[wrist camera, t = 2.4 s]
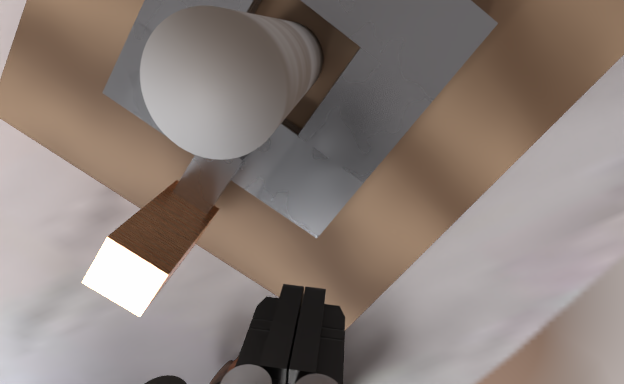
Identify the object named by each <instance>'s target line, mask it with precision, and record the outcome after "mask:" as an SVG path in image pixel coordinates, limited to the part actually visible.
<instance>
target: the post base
mask: <svg viewBox="0 0 624 384" xmlns="http://www.w3.org/2000/svg"><path fill="white" fill-rule="evenodd" d="M471 1H473V2H474V3H475V4H476V5H477V6H478V7H480V8H481V9H482V10H483V11H484V12H486V13H487V14H488V15H489V16H490V17H491V18H493V19H494V20H495V21H496V22H497V23H498V24H497V25H496V26H495V28H494V29H493V30H492V31H491V32H490V34H489V35H488V36H487V37H486V38H485V40H484V41H483V42H482V43H481V44H480V45H479V47H478V48H477V49H476V50H475V51H474V53H473V54H472V55H471V56H470V57H469V59H468V60H467V61H466V62H465V63H464V64H463V66H462V67H461V68H460V69H459V70H458V72H457V73H456V74H455V75H454V76H453V78H452V79H451V80H450V81H449V82H448V83H447V85H446V86H445V87H444V88H443V89H442V91H441V92H440V93H439V94H438V95H437V97H436V98H435V99H434V100H433V101H432V102H431V104H430V105H429V106H428V107H427V108H426V110H425V111H424V112H423V113H422V114H421V115H420V117H419V118H418V119H417V120H416V121H415V123H414V124H413V125H412V126H411V127H410V129H409V130H408V131H407V132H406V133H405V134H404V136H403V137H402V138H401V139H400V140H399V142H398V143H397V144H396V145H395V146H394V148H393V149H392V150H391V151H390V152H389V153H388V155H387V156H386V157H385V158H384V159H383V161H382V162H381V163H380V164H379V165H378V167H377V168H376V169H375V170H374V171H373V172H372V174H371V175H370V176H369V177H368V178H367V180H366V181H365V182H364V183H363V184H362V185H361V187H360V188H359V189H358V190H357V191H356V193H355V194H354V195H353V196H352V197H351V199H350V200H349V201H348V202H347V203H346V204H345V206H344V207H343V208H342V209H341V210H340V212H339V213H338V214H337V215H336V216H335V218H334V219H333V220H332V221H331V222H330V223H329V225H328V226H327V227H326V228H325V229H324V231H323V232H322V233H321V234H320V235H319V237H318V238H315V237H314V236H312V235H311V234H309V233H308V232H306V231H305V230H304V229H302V228H301V227H299V226H298V225H296V224H295V223H293V222H292V221H290V220H289V219H287V218H286V217H284V216H283V215H281V214H280V213H278V212H277V211H276V210H274V209H273V208H271V207H270V206H268V205H267V204H265V203H264V202H262V201H261V200H259V199H258V198H256V197H255V196H253V195H252V194H250V193H249V192H248V191H246V190H245V189H243V188H242V187H240V186H239V185H237V184H236V183H234V182H233V181H230V183H229V184H228V186H227V187H226V189H225V190H224V192H223V193H222V195H221V196H220V198H219V199H218V200H217V202H216V203H215V206H216V207H218V208H219V210H218V212H217V213H216V215H215V216H214V218H213V219H212V221H211V222H210V224H209V225H208V227H207V228H206V230H205V231H204V232H203V234H202V235H201V237H200V238H199V240H198V241H197V243H196V244H197V245H198V246H200V247H202V248H203V249H205V250H206V251H208V252H209V253H211V254H212V255H214V256H216V257H217V258H219V259H220V260H222V261H223V262H225V263H226V264H228V265H230V266H231V267H233V268H234V269H236V270H237V271H239V272H241V273H242V274H244V275H245V276H247V277H248V278H250V279H251V280H253V281H255V282H256V283H258V284H259V285H261V286H262V287H264V288H265V289H267V290H269V291H270V292H272V293H273V294H275V295H276V296H278V297H280V293H281V290H282V286H283V284H289V285H297V286H304V291H305V287H315V288H323V289H326V294H325V304H329V305H337V306H340V308H341V310H342V312H343V314H344V316H345V330H346V329H347V328H348V327H349V326H350V325H351V324H352V323H353V322H354V321H355V320H356V319H357V318H358V317H359V316H360V315H361V314H362V313H363V312H364V311H365V310H366V309H367V308H368V307H369V306H370V305H371V304H372V303H373V302H374V301H375V300H376V299H377V298H378V297H379V296H380V295H381V294H382V293H383V292H385V291H386V290H387V289H388V288H389V287H390V286H391V285H392V284H393V283H394V282H395V281H396V280H397V279H398V278H399V277H400V276H401V275H402V274H403V273H404V272H405V271H406V270H407V269H408V268H409V267H410V266H411V265H412V264H413V263H414V262H415V261H416V260H417V259H418V258H419V257H420V256H421V255H422V254H423V253H424V252H425V251H426V250H427V249H428V248H429V247H430V246H431V245H432V244H433V243H434V242H435V241H436V240H437V239H438V238H439V237H440V236H441V235H442V234H443V233H444V232H445V231H446V230H447V229H448V228H449V227H450V226H451V225H452V224H453V223H454V222H455V221H456V220H457V219H458V218H459V217H460V216H461V215H462V214H463V213H464V212H465V211H466V210H467V209H468V208H469V207H470V206H471V205H472V204H473V203H474V202H475V201H476V200H477V199H478V198H479V197H480V196H481V195H482V194H483V193H484V192H485V191H486V190H487V189H488V188H490V187H491V186H492V185H493V184H494V183H495V182H496V181H497V180H498V179H499V178H500V177H501V176H502V175H503V174H504V173H505V172H506V171H507V170H508V169H509V168H510V167H511V166H512V165H513V164H514V163H515V162H516V161H517V160H518V159H519V158H520V157H521V156H522V155H523V154H524V153H525V152H526V151H527V150H528V149H529V148H530V147H531V146H532V145H533V144H534V143H535V142H536V141H537V140H538V139H539V138H540V137H541V136H542V135H543V134H544V133H545V132H546V131H547V130H548V129H549V128H550V127H551V126H552V125H553V124H554V123H555V122H556V121H557V120H558V119H559V118H560V117H561V116H562V115H563V114H564V113H565V112H566V111H567V110H568V109H569V108H570V107H571V106H572V105H573V104H574V103H575V102H576V101H577V100H578V99H579V98H580V97H581V96H582V95H583V94H584V93H585V92H586V91H587V90H588V89H589V88H590V87H591V86H592V85H594V84H595V83H596V82H597V81H598V80H599V79H600V78H601V77H602V76H603V75H604V74H605V73H606V72H607V71H608V70H609V69H610V68H611V67H612V66H613V65H614V64H615V63H616V62H617V61H618V60H619V59H620V58H621V57H622V56H623V55H624V0H471ZM143 3H144V0H27V1H26V4H25V7H24V10H23V13H22V16H21V19H20V22H19V25H18V28H17V31H16V34H15V37H14V40H13V43H12V46H11V49H10V52H9V55H8V58H7V61H6V64H5V67H4V70H3V73H2V76H1V79H0V119H2V120H3V121H5V122H7V123H8V124H10V125H11V126H13V127H14V128H16V129H17V130H19V131H21V132H22V133H24V134H25V135H27V136H28V137H30V138H31V139H33V140H35V141H36V142H38V143H39V144H41V145H42V146H44V147H46V148H47V149H49V150H50V151H52V152H53V153H55V154H56V155H58V156H60V157H61V158H63V159H64V160H66V161H67V162H69V163H70V164H72V165H74V166H75V167H77V168H78V169H80V170H81V171H83V172H85V173H86V174H88V175H89V176H91V177H92V178H94V179H95V180H97V181H99V182H100V183H102V184H103V185H105V186H106V187H108V188H109V189H111V190H113V191H114V192H116V193H117V194H119V195H120V196H122V197H124V198H125V199H127V200H128V201H130V202H131V203H133V204H134V205H136V206H138V207H139V208H141V209H142V208H143V207H144V206H145V205H147V204H148V203H149V202H150V201H152V200H153V199H154V198H155V197H156V196H158V195H159V194H160V193H161V192H163V191H164V190H165V189H166V188H167V187H169V186H170V185H171V184H172V183H174V182H175V181H176V180H177V181H180V179H181V177H182V176H183V174H184V172H185V171H186V169H187V167H188V166H189V164H190V162H191V161H192V159H193V157H194V155H197V156H200V157H204V158H209V159H218V160H224V159H233V158H238V157H241V156H244V155H247V154H249V153H250V152H252V151H254V150H256V149H257V148H259V147H260V146H261V145H262V144H263V143H265V142H266V141H267V140H268V139H269V137H270V136H271V135H272V134H273V133H274V131H275V130H276V129H277V128H278V126H279V125H280V124H281V123H282V122H283V120H284V119H285V118H286V119H288V120H289V121H290V122H292V123H293V124H295V125H296V126H297V127H299V128H300V129H302V128H303V126H304V125H305V123H306V122H307V121H308V119H309V118H310V116H311V115H312V114H313V112H314V111H315V109H316V108H317V107H318V105H319V104H320V102H321V101H322V100H323V98H324V97H325V95H326V94H327V93H328V91H329V90H330V88H331V87H332V86H333V84H334V83H335V81H336V80H337V79H338V77H339V76H340V74H341V73H342V72H343V70H344V69H345V67H346V66H347V65H348V63H349V62H350V60H351V59H352V58H353V56H354V55H355V53H356V52H357V51H358V49H359V48H360V46H358V45H357V44H356V43H355V42H353V41H352V40H351V39H349V38H348V37H347V36H346V35H344V34H343V33H342V32H340V31H339V30H338V29H337V28H335V27H334V26H333V25H331V24H330V23H329V22H328V21H326V20H325V19H324V18H323V17H321V16H320V15H319V14H317V13H316V12H315V11H314V10H312V9H311V8H310V7H308V6H307V5H306V4H305V3H303V2H302V1H301V0H262V1H261V2H260V4H259V6H258V8H257V9H256V11H255V13H254V14H251V13H246V12H241V11H236V10H231V9H226V8H221V7H215V6H194V7H189V8H185V9H182V10H180V11H177V12H175V13H173V14H172V15H170V16H169V17H167V18H166V19H164V20H163V21H162V22H161V23H160V24H159V25H158V26H157V27H156V28H155V30H154V31H153V32H152V34H151V35H150V37H149V39H148V41H147V43H146V45H145V48H144V50H143V54H142V58H141V64H140V84H141V91H142V94H143V98H144V101H145V104H146V107H147V109H148V111H149V113H150V115H151V117H152V119H153V120H154V122H155V123H156V125H157V126H158V127H159V128H160V130H161V131H162V132H163V133H164V134H165V135H166V136H167V137H166V136H165V135H164V134H162V133H161V132H159V131H158V130H156V129H155V128H153V127H152V126H150V125H149V124H147V123H146V122H144V121H143V120H141V119H140V118H138V117H137V116H136V115H134V114H133V113H131V112H130V111H128V110H127V109H125V108H124V107H122V106H121V105H119V104H118V103H116V102H115V101H113V100H112V99H111V98H109V97H108V96H106V95H105V94H103V93H102V92H103V90H104V88H105V86H106V84H107V81H108V79H109V77H110V75H111V73H112V71H113V68H114V66H115V64H116V62H117V60H118V57H119V55H120V53H121V51H122V49H123V46H124V44H125V42H126V40H127V38H128V35H129V33H130V31H131V29H132V27H133V24H134V22H135V20H136V18H137V16H138V13H139V11H140V9H141V7H142V5H143ZM193 154H194V155H193Z"/></svg>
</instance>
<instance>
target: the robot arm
mask: <svg viewBox="0 0 624 384" xmlns="http://www.w3.org/2000/svg"><path fill="white" fill-rule="evenodd" d="M325 294H326V289H323V288H315V287H305V291H304V286H297V285H289V284H283V286H282V290H281V293H280V297H279V298H271V297H266V298H265V299H264V300H263V301H262V302H261V303H260V304H259V305H258V306H257V307H256V310H255V313H254V316H253V319H252V321H251V324H250V327H249V330H248V332H247V335H246V338H245V341H244V343H243V346H242V349H241V352H240V354H239V357H238V360H237V363H236V365H235V368H233V369H231V370H230V371H229V372H228V373H227V374H226V375H225V376H224V377H223V379H222V381H220V382H218V383H215V384H343V362H344V337H345V316H344V314H343V312H342V310H341V308H340V306H337V305H329V304H325ZM145 384H186V382H185V381H184V380H182V379H181V378H179V377H176V376H168V375H167V376H161V377H157V378H154V379H152V380H150V381H148V382H147V383H145Z"/></svg>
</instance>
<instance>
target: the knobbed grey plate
mask: <svg viewBox="0 0 624 384" xmlns="http://www.w3.org/2000/svg"><path fill="white" fill-rule="evenodd" d="M261 1H262V0H144V3H143V5H142V7H141V9H140V11H139V13H138V16H137V18H136V20H135V22H134V24H133V27H132V29H131V31H130V33H129V35H128V38H127V40H126V42H125V44H124V46H123V49H122V51H121V53H120V55H119V57H118V60H117V62H116V64H115V66H114V68H113V71H112V73H111V75H110V77H109V79H108V81H107V84H106V86H105V88H104V90H103V92H102V93H103V94H105V95H106V96H108V97H109V98H111V99H112V100H113V101H115V102H116V103H118V104H119V105H121V106H122V107H124V108H125V109H127V110H128V111H130V112H131V113H133V114H134V115H136V116H137V117H138V118H140V119H141V120H143V121H144V122H146V123H147V124H149V125H150V126H152V127H153V128H155V129H156V130H158V131H159V132H161V133H162V134H164V133H163V132H162V131H161V130H160V128H159V127H158V126H157V125H156V123H155V122H154V120H153V119H152V117H151V115H150V113H149V111H148V109H147V107H146V104H145V101H144V98H143V94H142V91H141V84H140V64H141V58H142V54H143V50H144V48H145V45H146V43H147V41H148V39H149V37H150V35H151V34H152V32H153V31H154V30H155V28H156V27H157V26H158V25H159V24H160V23H161V22H162V21H163V20H164V19H166V18H167V17H169V16H170V15H172V14H173V13H175V12H177V11H180V10H182V9H185V8H189V7H194V6H215V7H221V8H226V9H231V10H236V11H241V12H246V13H251V14H254V13H255V11H256V9H257V8H258V6H259V4H260V2H261ZM301 1H302V2H303V3H305V4H306V5H307V6H308V7H310V8H311V9H312V10H314V11H315V12H316V13H317V14H319V15H320V16H321V17H323V18H324V19H325V20H326V21H328V22H329V23H330V24H331V25H333V26H334V27H335V28H337V29H338V30H339V31H340V32H342V33H343V34H344V35H346V36H347V37H348V38H349V39H351V40H352V41H353V42H355V43H356V44H357V45H358V46H360V48H359V49H358V51H357V52H356V53H355V55H354V56H353V58H352V59H351V60H350V62H349V63H348V65H347V66H346V67H345V69H344V70H343V72H342V73H341V74H340V76H339V77H338V79H337V80H336V81H335V83H334V84H333V86H332V87H331V88H330V90H329V91H328V93H327V94H326V95H325V97H324V98H323V100H322V101H321V102H320V104H319V105H318V107H317V108H316V109H315V111H314V112H313V114H312V115H311V116H310V118H309V119H308V121H307V122H306V123H305V125H304V126H303V128H302V129H300V128H299V127H297V126H296V125H295V124H293V123H292V122H290V121H289V120H288V119H286V118H285V119H284V120H283V122H282V123H281V124H280V125H279V126H278V128H277V129H276V130H275V131H274V133H273V134H272V135H271V136H270V137H269V139H268V140H267V141H266V142H265V143H263V144H262V145H261V146H260V147H259V148H257V149H256V150H254V151H252V152H250V153H249V154H247V155H244V156H241V157H238V158H233V159H224V160H218V159H209V158H204V157H200V156H197V155H194V154H193V155H194V157H193V159H192V161H191V162H190V164H189V166H188V167H187V169H186V171H185V172H184V174H183V176H182V177H181V179H180V181H177V180H176V181H175V182H174V183H172V184H171V185H170V186H169V187H167V188H166V189H165V190H164V191H163V192H161V193H160V194H159V195H158V196H156V197H155V198H154V199H153V200H152V201H150V202H149V203H148V204H147V205H145V206H144V207H143V208H142V209H141V210H139V211H138V212H137V213H136V214H134V215H133V216H132V217H131V218H130V219H128V220H127V221H126V222H125V223H123V224H122V225H121V226H120V227H119V228H117V229H116V230H115V231H114V232H112V233H111V234H110V235H109V236H108V237H107V238H106V240H105V242H104V243H103V245H102V247H101V249H100V251H99V252H98V254H97V256H96V258H95V260H94V262H93V263H92V265H91V267H90V269H89V271H88V272H87V274H86V276H85V278H84V280H83V281H82V283H83V284H85V285H87V286H88V287H90V288H92V289H93V290H95V291H97V292H98V293H100V294H102V295H103V296H105V297H107V298H108V299H110V300H112V301H113V302H115V303H117V304H119V305H120V306H122V307H124V308H125V309H127V310H129V311H130V312H132V313H134V314H135V315H137V316H139V317H141V315H142V314H143V313H144V311H145V310H146V309H147V307H148V306H149V305H150V303H151V302H152V301H153V299H154V298H155V297H156V295H157V294H158V293H159V292H160V290H161V289H162V288H163V286H164V285H165V284H166V282H167V281H168V280H169V278H170V277H171V276H172V274H173V273H174V272H175V270H176V269H177V268H178V266H179V265H180V264H181V263H182V261H183V260H184V259H185V257H186V256H187V255H188V253H189V252H190V251H191V249H192V248H193V247H194V245H195V244H196V243H197V241H198V240H199V238H200V237H201V235H202V234H203V232H204V231H205V230H206V228H207V227H208V225H209V224H210V222H211V221H212V219H213V218H214V216H215V215H216V213H217V212H218V210H219V208H218V207H216V206H215V203H216V202H217V200H218V199H219V198H220V196H221V195H222V193H223V192H224V190H225V189H226V187H227V186H228V184H229V183H230V181H233V182H234V183H236V184H237V185H239V186H240V187H242V188H243V189H245V190H246V191H248V192H249V193H250V194H252V195H253V196H255V197H256V198H258V199H259V200H261V201H262V202H264V203H265V204H267V205H268V206H270V207H271V208H273V209H274V210H276V211H277V212H278V213H280V214H281V215H283V216H284V217H286V218H287V219H289V220H290V221H292V222H293V223H295V224H296V225H298V226H299V227H301V228H302V229H304V230H305V231H306V232H308V233H309V234H311V235H312V236H314V237H315V238H318V237H319V235H320V234H321V233H322V232H323V231H324V229H325V228H326V227H327V226H328V225H329V223H330V222H331V221H332V220H333V219H334V218H335V216H336V215H337V214H338V213H339V212H340V210H341V209H342V208H343V207H344V206H345V204H346V203H347V202H348V201H349V200H350V199H351V197H352V196H353V195H354V194H355V193H356V191H357V190H358V189H359V188H360V187H361V185H362V184H363V183H364V182H365V181H366V180H367V178H368V177H369V176H370V175H371V174H372V172H373V171H374V170H375V169H376V168H377V167H378V165H379V164H380V163H381V162H382V161H383V159H384V158H385V157H386V156H387V155H388V153H389V152H390V151H391V150H392V149H393V148H394V146H395V145H396V144H397V143H398V142H399V140H400V139H401V138H402V137H403V136H404V134H405V133H406V132H407V131H408V130H409V129H410V127H411V126H412V125H413V124H414V123H415V121H416V120H417V119H418V118H419V117H420V115H421V114H422V113H423V112H424V111H425V110H426V108H427V107H428V106H429V105H430V104H431V102H432V101H433V100H434V99H435V98H436V97H437V95H438V94H439V93H440V92H441V91H442V89H443V88H444V87H445V86H446V85H447V83H448V82H449V81H450V80H451V79H452V78H453V76H454V75H455V74H456V73H457V72H458V70H459V69H460V68H461V67H462V66H463V64H464V63H465V62H466V61H467V60H468V59H469V57H470V56H471V55H472V54H473V53H474V51H475V50H476V49H477V48H478V47H479V45H480V44H481V43H482V42H483V41H484V40H485V38H486V37H487V36H488V35H489V34H490V32H491V31H492V30H493V29H494V28H495V26H496V25H497V24H498V23H497V22H496V21H495V20H494V19H493V18H491V17H490V16H489V15H488V14H487V13H486V12H484V11H483V10H482V9H481V8H480V7H478V6H477V5H476V4H475V3H474V2H473V1H471V0H301ZM164 135H165V134H164ZM165 136H166V135H165ZM166 137H167V136H166Z"/></svg>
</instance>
